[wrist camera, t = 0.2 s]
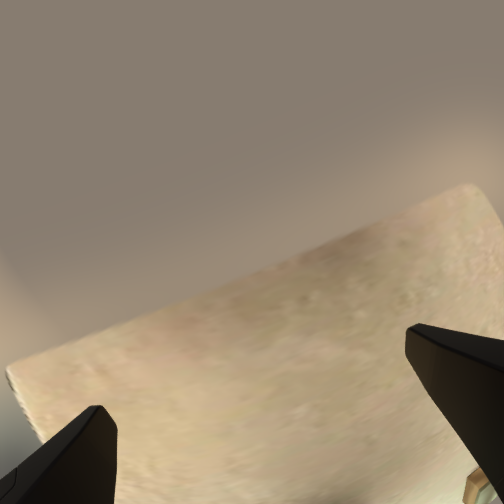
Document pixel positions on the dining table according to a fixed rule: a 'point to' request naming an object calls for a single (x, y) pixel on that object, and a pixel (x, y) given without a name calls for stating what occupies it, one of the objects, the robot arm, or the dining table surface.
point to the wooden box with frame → (478, 489)
